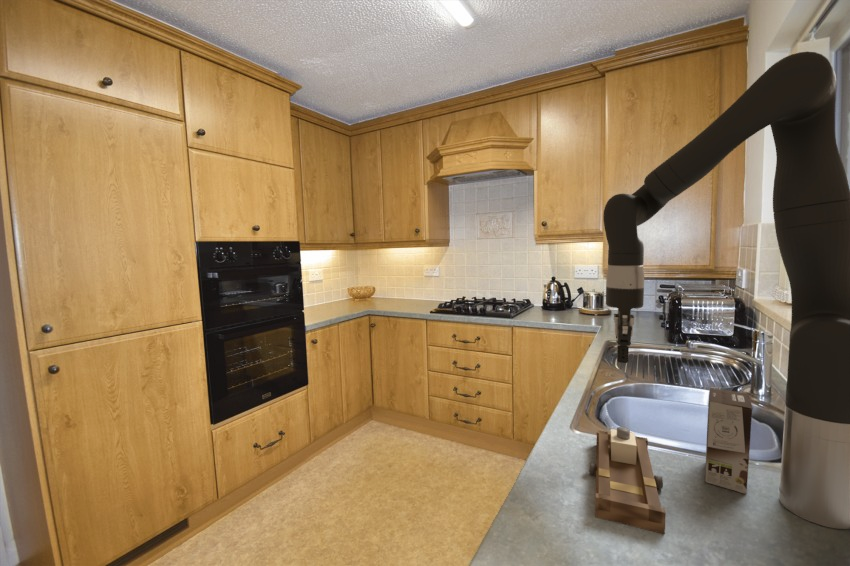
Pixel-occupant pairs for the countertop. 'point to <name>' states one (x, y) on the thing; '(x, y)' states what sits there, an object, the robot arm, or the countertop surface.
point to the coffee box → (728, 439)
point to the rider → (623, 446)
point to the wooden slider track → (627, 487)
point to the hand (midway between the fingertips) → (622, 361)
